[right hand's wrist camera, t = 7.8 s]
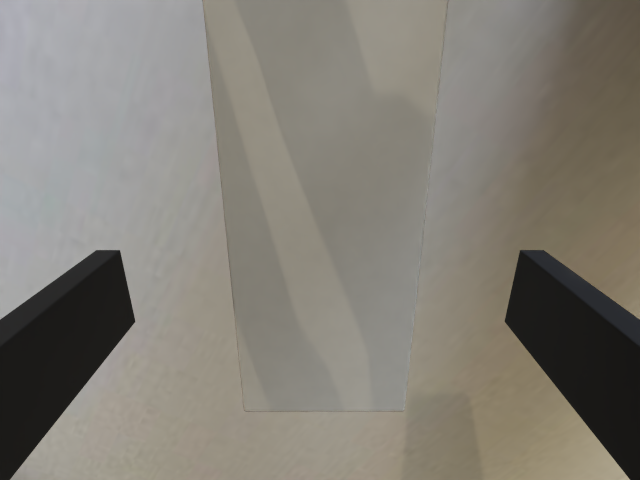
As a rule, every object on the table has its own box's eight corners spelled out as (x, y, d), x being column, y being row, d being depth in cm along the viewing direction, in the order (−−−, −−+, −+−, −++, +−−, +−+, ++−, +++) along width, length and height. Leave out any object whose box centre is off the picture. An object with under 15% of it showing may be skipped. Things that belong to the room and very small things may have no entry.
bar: (372, 290, 20) (404, 412, 12) (272, 290, 20) (243, 412, 12) (408, -331, 12) (566, -1089, 4) (238, -331, 12) (91, -1085, 4)
